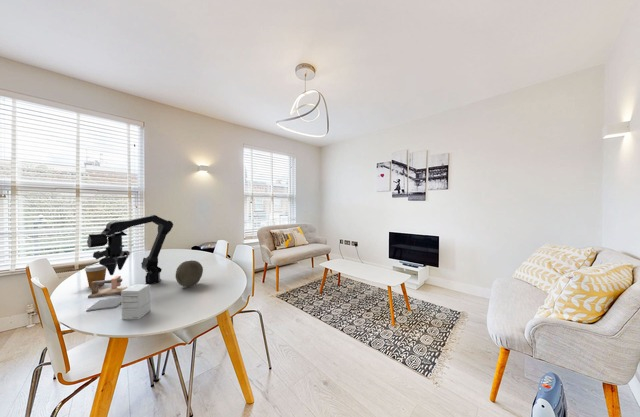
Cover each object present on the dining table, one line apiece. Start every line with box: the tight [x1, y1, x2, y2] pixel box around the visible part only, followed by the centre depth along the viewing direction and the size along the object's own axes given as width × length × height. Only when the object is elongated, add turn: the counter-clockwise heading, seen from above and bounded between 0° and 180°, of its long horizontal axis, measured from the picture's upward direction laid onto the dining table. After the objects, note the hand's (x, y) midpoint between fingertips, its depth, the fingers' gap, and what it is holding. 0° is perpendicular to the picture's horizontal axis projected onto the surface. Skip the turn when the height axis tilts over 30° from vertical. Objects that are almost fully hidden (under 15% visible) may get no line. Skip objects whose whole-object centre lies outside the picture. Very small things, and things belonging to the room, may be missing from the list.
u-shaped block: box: [110, 275, 122, 290], centre depth 122 cm, size 2×5×6 cm, turn 21°
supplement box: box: [120, 284, 151, 320], centre depth 98 cm, size 7×7×13 cm
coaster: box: [85, 296, 121, 312], centre depth 108 cm, size 11×11×1 cm
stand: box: [87, 278, 128, 299], centre depth 121 cm, size 14×8×7 cm, turn 111°
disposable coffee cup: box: [83, 263, 107, 289], centre depth 130 cm, size 10×10×12 cm
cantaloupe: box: [175, 259, 204, 288], centre depth 132 cm, size 14×14×15 cm
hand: (116, 272), depth 122 cm, fingers open, 9 cm apart
